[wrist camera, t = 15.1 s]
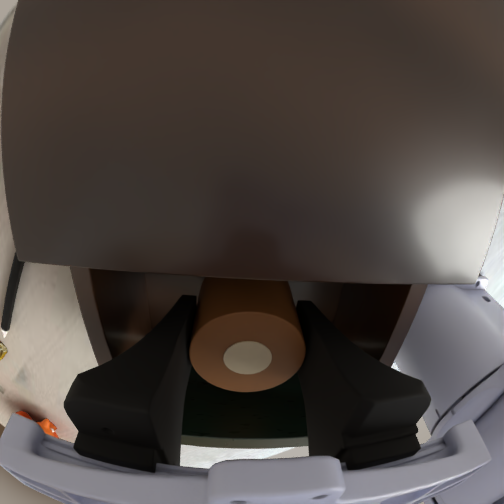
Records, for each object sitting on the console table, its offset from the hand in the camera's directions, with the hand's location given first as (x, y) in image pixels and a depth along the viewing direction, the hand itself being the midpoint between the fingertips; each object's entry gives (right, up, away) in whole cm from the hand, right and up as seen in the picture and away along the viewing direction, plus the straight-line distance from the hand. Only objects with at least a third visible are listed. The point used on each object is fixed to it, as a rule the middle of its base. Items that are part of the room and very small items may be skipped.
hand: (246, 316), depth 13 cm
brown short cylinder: (0, +1, +1) cm, 1 cm away
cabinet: (+1, +12, -1) cm, 12 cm away
